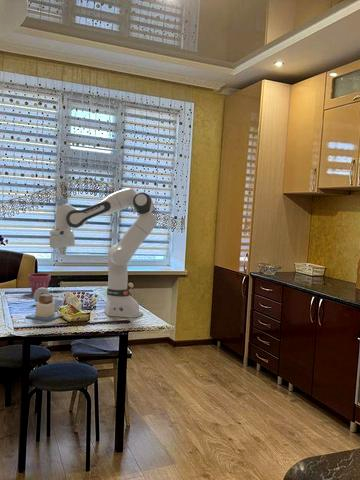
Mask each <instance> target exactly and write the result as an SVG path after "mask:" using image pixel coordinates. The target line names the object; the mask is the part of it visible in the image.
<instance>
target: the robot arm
mask: <svg viewBox="0 0 360 480" xmlns="http://www.w3.org/2000/svg"><path fill="white" fill-rule="evenodd" d="M128 208H133V209H134V210H135V211H136V213H138V217H137V219H136V220H135V221H134V222H133V224H131V225H130V227H129V228H128V229H127V230H126V232H125V233H123V236H122V237H121V239H120V240H119V241H118V243H117V244H114V245H111V247H110V248H109V250H108V252H107V254H108V256H107V259H108V260H107V262H108V263H107V267H108V273H107V274H108V277H107V279H108V281H107V289H106V297H107V298H106V304H105V308H104V310H103V313H104V314H105V315H106V316H108V317H109V316H111V317H120V318H121V317H122V318H130V319H134V318H138V317H140V316H142V315H144V312H143V311H142V310H140V305H139V303H138V301H136V300H135V299H134V298H133V297H132V296H131V295H130V294H131V292H132V290H131V289H128V281H129V280H128V278H129V277H128V276H129V275H128V274H129V273H128V264H129V262H130V261H131V259H132V258H133V256H134V255H135V254H136V251H137V250H138V249H139V248H140V246H141V245H142V244H143V242H144V241H145V240H146V239H147V237H148V236H149V235H150V234H151V233H152V232H153V229H155V227H156V225H157V222H158V221H157V218H156V216H155V215H154V214H153V213H154V211H155V204H154V201H153V199H152V197H151V196H150V195H149V194H148V193H146V192H142V191H141V192H140V191H139V192H138V193H137V192H136V191H135V189H134V188H131V187H130V188H129V187H127V188H125V189H121V190H118V191H116V192H113V193H111V194H109V195H108V196H106V197H105V198H103V199H102V200H100V201H99V202H97V203H95V204H94V205H90V206H89V207H86V208H84V209H79V208H76V207H74V206H72V204H71V203H64V204H59V205H58V206H57V207H56V211H55V212H56V213H55V221H56V222H55V228H53V229H51V230H50V231H49V235H50V236H49V247H50V248H52V249H57V250H58V251H59V256H63V255H65V254H66V251H67V247H74V246H75V244H76V241H75V240H76V239H75V233H74V231H72V229H77V228H80V227H83V226H84V225H86V224H87V222H88V220H90V219H92V218H95V217H97V216H100V215H103V214H112V213H113V214H114V213H118V212H120V211H123V210H125V209H128Z"/></svg>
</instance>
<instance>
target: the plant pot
mask: <svg viewBox="0 0 360 480" xmlns="http://www.w3.org/2000/svg"><path fill="white" fill-rule="evenodd" d="M27 276H28V277H27V279H28V281H29V284H30V289H31V290H30V291H31V294H33V295H34V293H35V291H36V290H37V289H39V288H46V289H48V288H49V284H50V281H51V279H52V278H51V274H50V273H45V272H44V273H43V272H42V273H41V272H38V273H37V272H35V273H30V274H28V275H27ZM42 294H44V293H41V294H40V295H42Z"/></svg>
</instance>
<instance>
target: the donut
mask: <svg viewBox="0 0 360 480" xmlns="http://www.w3.org/2000/svg"><path fill="white" fill-rule="evenodd" d="M41 293H44V294H50V295H51V293H50V290H48V288H47V289H46V288H39V289H37V290H36V291H35V293H34V294H33V300H34V301H35V303H37V302H39V295H40V294H41Z"/></svg>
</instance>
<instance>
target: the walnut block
mask: <svg viewBox="0 0 360 480" xmlns="http://www.w3.org/2000/svg"><path fill="white" fill-rule="evenodd" d="M53 298H54V295H53V294H51V293H50V294H42V295H39V303H42V304H49V303H52V302H54V301H53V300H54V299H53Z"/></svg>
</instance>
